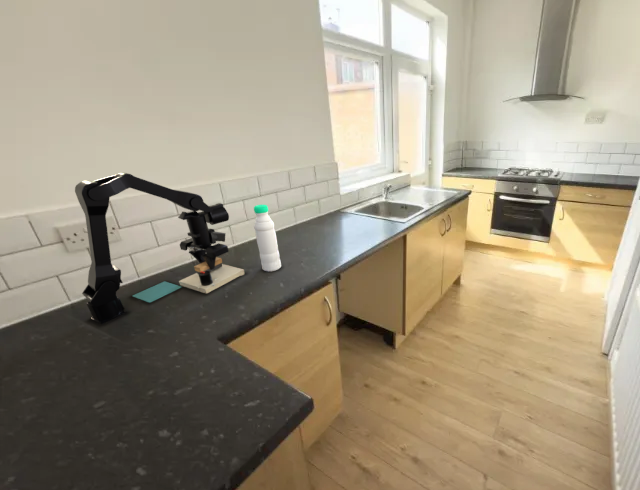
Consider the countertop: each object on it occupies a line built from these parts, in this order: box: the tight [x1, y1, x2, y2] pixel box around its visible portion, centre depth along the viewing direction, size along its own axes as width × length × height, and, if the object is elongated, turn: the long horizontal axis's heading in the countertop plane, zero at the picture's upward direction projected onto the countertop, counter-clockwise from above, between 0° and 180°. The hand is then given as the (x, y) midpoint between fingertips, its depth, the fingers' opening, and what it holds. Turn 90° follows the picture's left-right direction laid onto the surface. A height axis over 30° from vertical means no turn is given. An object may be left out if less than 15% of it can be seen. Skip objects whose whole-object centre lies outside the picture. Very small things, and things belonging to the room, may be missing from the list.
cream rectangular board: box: [178, 263, 246, 294], centre depth 115 cm, size 17×15×2 cm
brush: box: [193, 256, 223, 274], centre depth 117 cm, size 9×3×3 cm, turn 154°
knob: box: [198, 271, 213, 286], centre depth 108 cm, size 4×4×4 cm
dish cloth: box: [132, 280, 182, 304], centre depth 109 cm, size 11×10×1 cm
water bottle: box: [253, 204, 282, 273], centre depth 118 cm, size 7×7×25 cm
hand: (209, 268), depth 118 cm, fingers closed on brush, 3 cm apart
